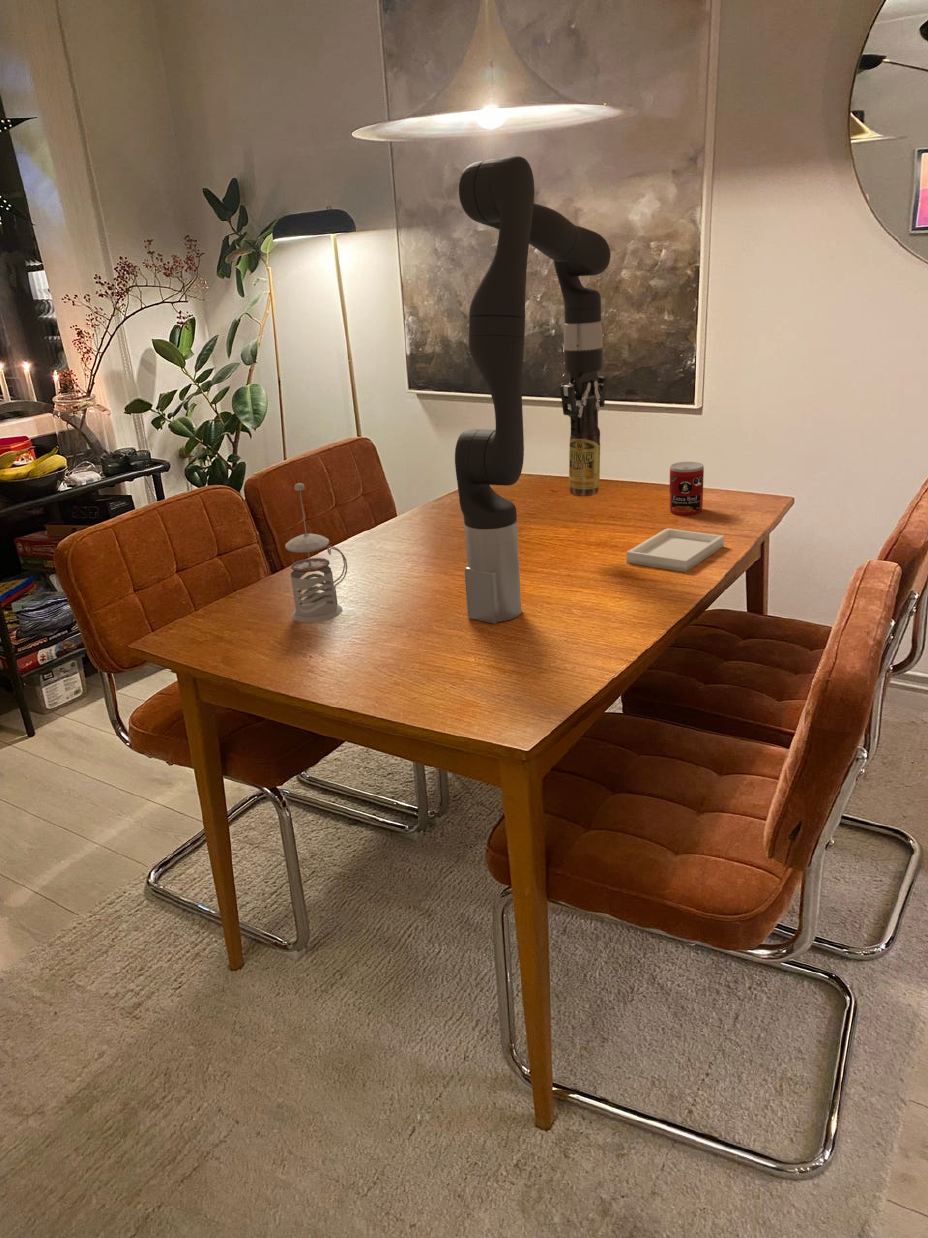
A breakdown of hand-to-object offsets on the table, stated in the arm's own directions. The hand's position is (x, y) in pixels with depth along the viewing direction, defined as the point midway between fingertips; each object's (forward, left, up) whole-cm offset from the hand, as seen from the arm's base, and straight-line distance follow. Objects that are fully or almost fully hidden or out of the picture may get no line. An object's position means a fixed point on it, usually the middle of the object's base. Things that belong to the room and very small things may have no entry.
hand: (584, 432), depth 187 cm
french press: (-52, +27, -26) cm, 64 cm away
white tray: (+7, -17, -25) cm, 31 cm away
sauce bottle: (0, 0, -13) cm, 13 cm away
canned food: (+37, -5, -26) cm, 45 cm away
